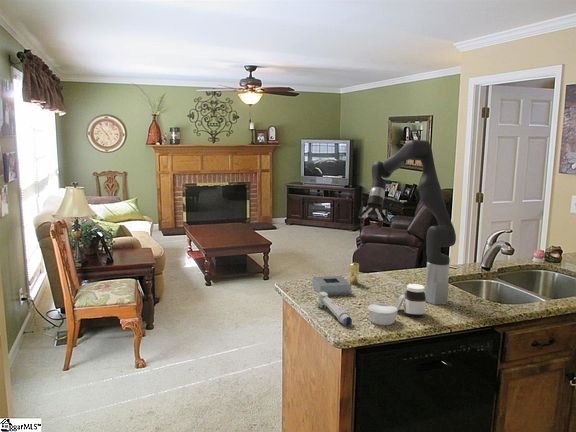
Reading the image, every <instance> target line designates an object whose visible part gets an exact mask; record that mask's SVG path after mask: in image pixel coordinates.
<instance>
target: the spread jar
mask: <svg viewBox="0 0 576 432" xmlns="http://www.w3.org/2000/svg"><path fill="white" fill-rule="evenodd" d="M402 304H403V310H404V311H403V312H404V315H406V316H407V315H408V316H407V317H410V316H411V318H421V316H422V317H424V316H425V314H426V306H427V305H426V304H427V303H426V296H425V285H422V284H418V283H408V284H407V285H406V290H405V293H404V294H400V296H399V298H398V299H397V301H396V304H395V305H394V307H396V308H397V312H398V311H400V308H401V306H402Z"/></svg>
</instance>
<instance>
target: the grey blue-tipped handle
mask: <svg viewBox="0 0 576 432" xmlns="http://www.w3.org/2000/svg"><path fill="white" fill-rule="evenodd" d="M316 307H317V308H320V309H327V308H328V309H329V310H330V312H331V313H332V314H333V315H334V316H335V317H336V318H337V321H338V322H339V323H340V324H342V325H343V326H344V327H347V326H351V325H352V324H353V318H352V317H350V314H349V313H348V312H347V311H344V310H343V309H342V308H341V307H340V306H339V305H337V304H336V303H335V302H334V301H333V300H332V299H331V298H329V295H328V294H327V293H326V292H320V293H318V296H317V297H316Z"/></svg>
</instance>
